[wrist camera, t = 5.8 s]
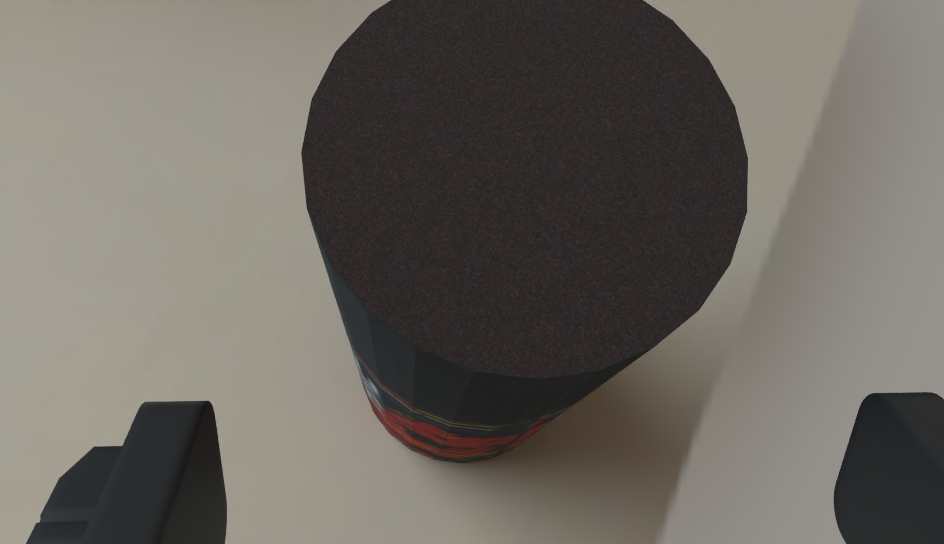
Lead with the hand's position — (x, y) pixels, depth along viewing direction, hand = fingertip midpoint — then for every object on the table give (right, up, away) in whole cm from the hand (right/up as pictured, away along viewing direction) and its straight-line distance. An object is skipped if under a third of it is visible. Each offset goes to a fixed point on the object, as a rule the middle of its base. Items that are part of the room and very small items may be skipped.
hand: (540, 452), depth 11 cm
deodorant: (-1, -1, +15) cm, 15 cm away
